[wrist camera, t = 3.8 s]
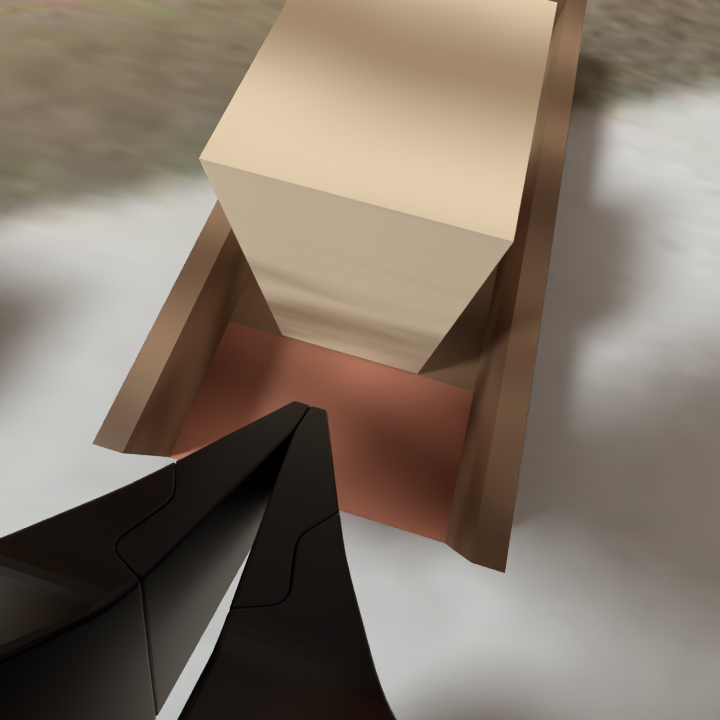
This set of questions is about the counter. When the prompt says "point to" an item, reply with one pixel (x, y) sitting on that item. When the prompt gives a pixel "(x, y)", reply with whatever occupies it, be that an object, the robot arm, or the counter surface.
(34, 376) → the counter surface
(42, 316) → the counter surface
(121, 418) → the tray
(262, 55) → the sliding block
